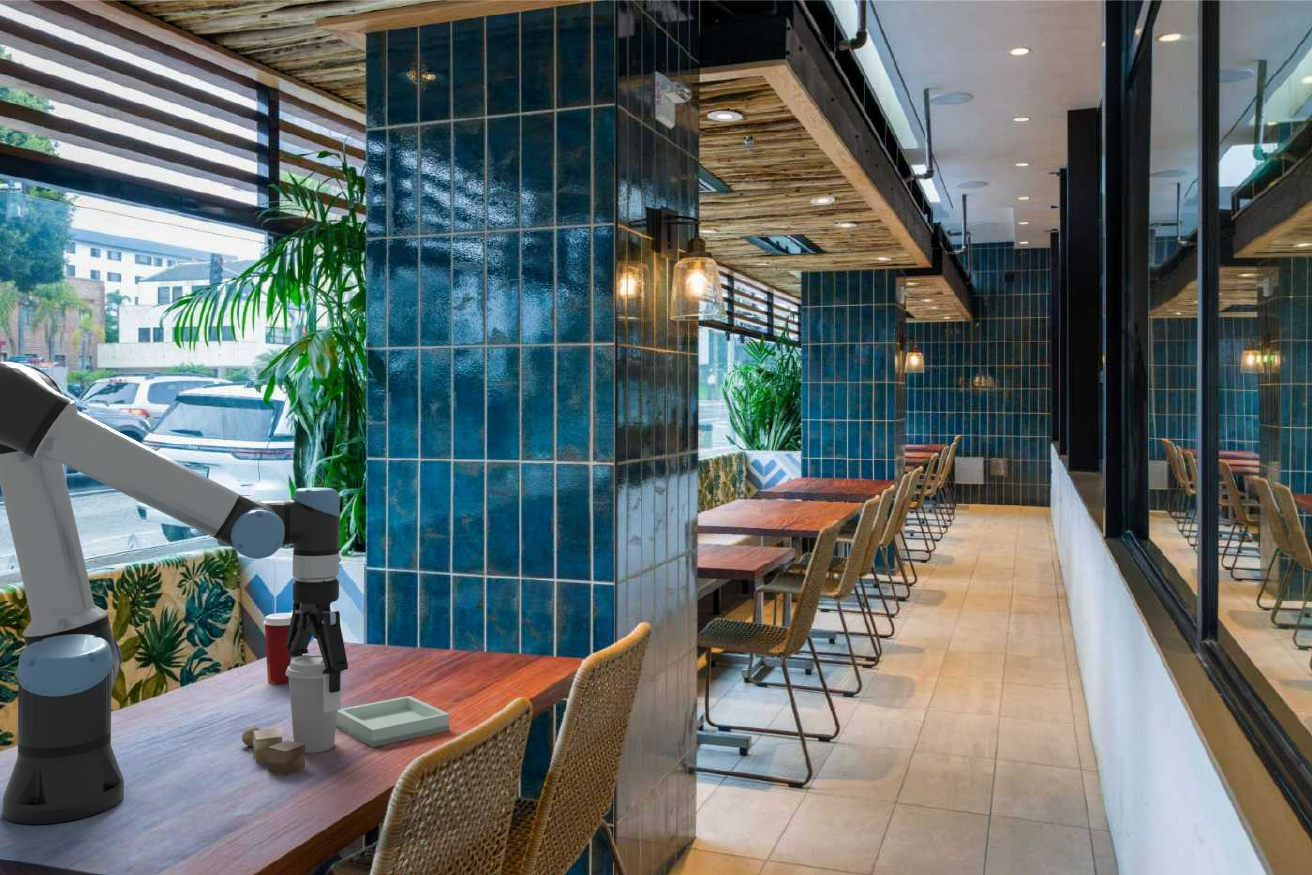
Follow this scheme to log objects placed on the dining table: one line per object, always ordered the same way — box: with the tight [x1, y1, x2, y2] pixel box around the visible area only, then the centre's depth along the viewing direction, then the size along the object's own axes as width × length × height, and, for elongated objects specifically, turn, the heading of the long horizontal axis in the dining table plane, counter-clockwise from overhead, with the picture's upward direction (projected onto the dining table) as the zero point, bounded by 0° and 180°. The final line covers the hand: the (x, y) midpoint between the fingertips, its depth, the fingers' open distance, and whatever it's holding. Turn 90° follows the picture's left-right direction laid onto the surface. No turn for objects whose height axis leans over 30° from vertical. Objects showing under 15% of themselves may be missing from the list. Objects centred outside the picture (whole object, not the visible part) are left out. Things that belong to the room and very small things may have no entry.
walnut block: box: [267, 739, 306, 777], centre depth 160 cm, size 4×4×4 cm
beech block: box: [252, 727, 283, 764], centre depth 166 cm, size 4×5×4 cm
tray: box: [336, 695, 451, 748], centre depth 182 cm, size 15×15×3 cm
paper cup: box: [263, 612, 293, 685], centre depth 213 cm, size 8×8×14 cm
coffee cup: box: [285, 653, 345, 754], centre depth 171 cm, size 10×10×15 cm
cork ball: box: [241, 726, 261, 747], centre depth 171 cm, size 3×3×3 cm
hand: (314, 701), depth 171 cm, fingers open, 13 cm apart
